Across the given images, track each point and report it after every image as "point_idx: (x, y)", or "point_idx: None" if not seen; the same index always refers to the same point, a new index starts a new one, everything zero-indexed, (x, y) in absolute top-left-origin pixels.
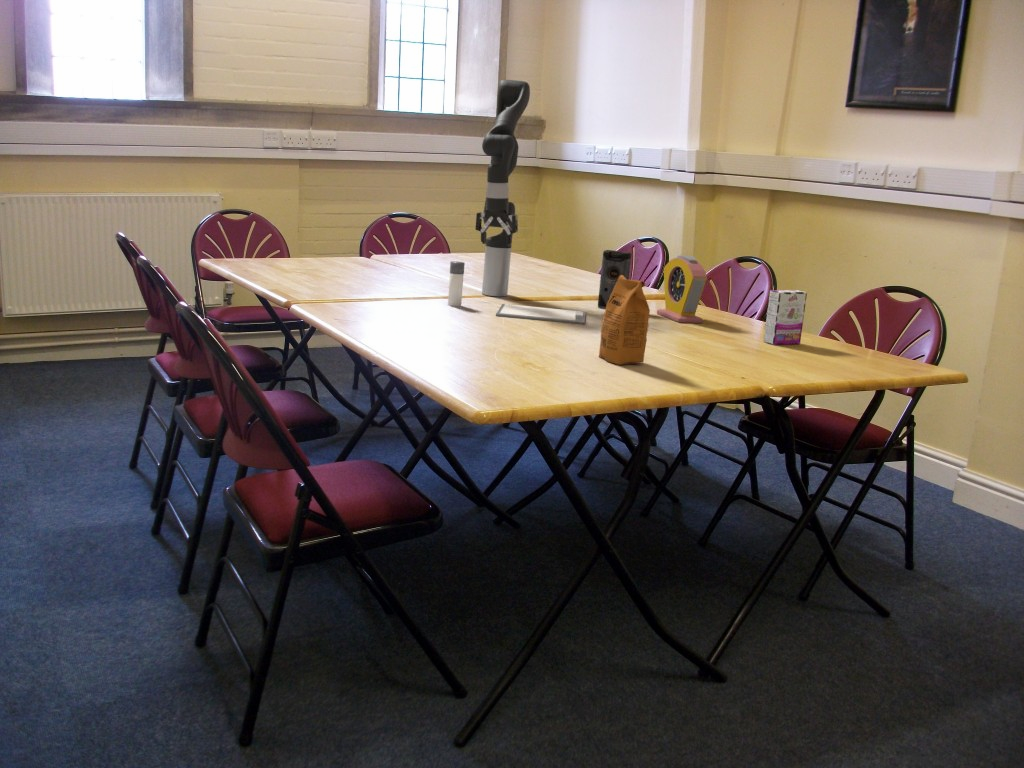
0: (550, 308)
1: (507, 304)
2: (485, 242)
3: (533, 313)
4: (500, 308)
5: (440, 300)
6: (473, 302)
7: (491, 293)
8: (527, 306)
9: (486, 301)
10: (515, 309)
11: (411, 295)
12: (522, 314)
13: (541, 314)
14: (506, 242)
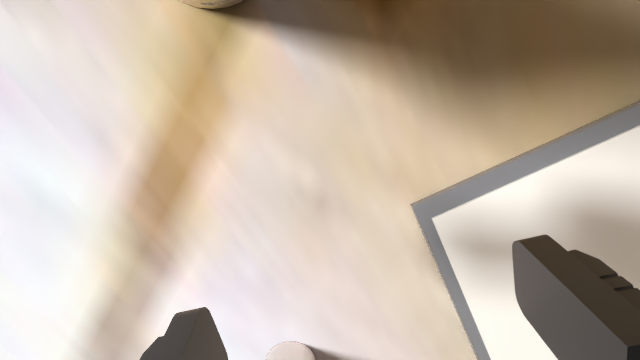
0: (623, 134)
1: (442, 216)
2: (213, 338)
3: None
4: (460, 308)
5: None
6: (290, 244)
7: (228, 4)
8: (526, 183)
9: (308, 171)
10: None
11: (41, 327)
12: None
13: None
14: (540, 335)
